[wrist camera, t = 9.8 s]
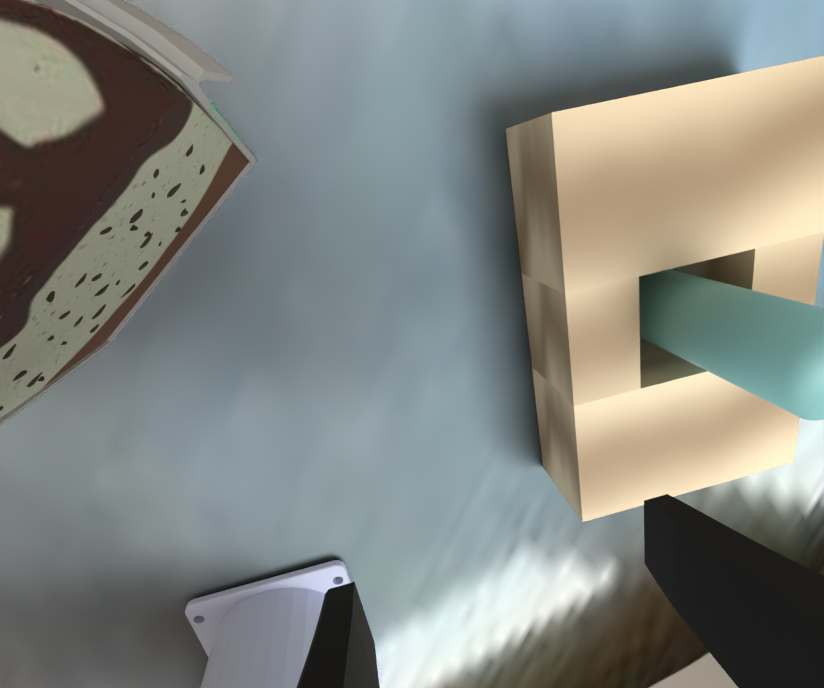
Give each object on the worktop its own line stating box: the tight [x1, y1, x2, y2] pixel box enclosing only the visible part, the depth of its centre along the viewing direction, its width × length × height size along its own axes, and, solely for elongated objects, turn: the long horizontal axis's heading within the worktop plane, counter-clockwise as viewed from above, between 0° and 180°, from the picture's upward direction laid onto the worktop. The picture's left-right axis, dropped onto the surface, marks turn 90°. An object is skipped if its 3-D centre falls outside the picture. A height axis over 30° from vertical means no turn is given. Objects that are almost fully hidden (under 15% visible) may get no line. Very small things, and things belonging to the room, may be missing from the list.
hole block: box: [506, 56, 824, 522], centre depth 18 cm, size 16×10×4 cm, turn 11°
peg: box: [639, 269, 824, 420], centre depth 16 cm, size 3×3×9 cm
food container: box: [0, 0, 257, 425], centre depth 11 cm, size 12×6×10 cm, turn 137°
